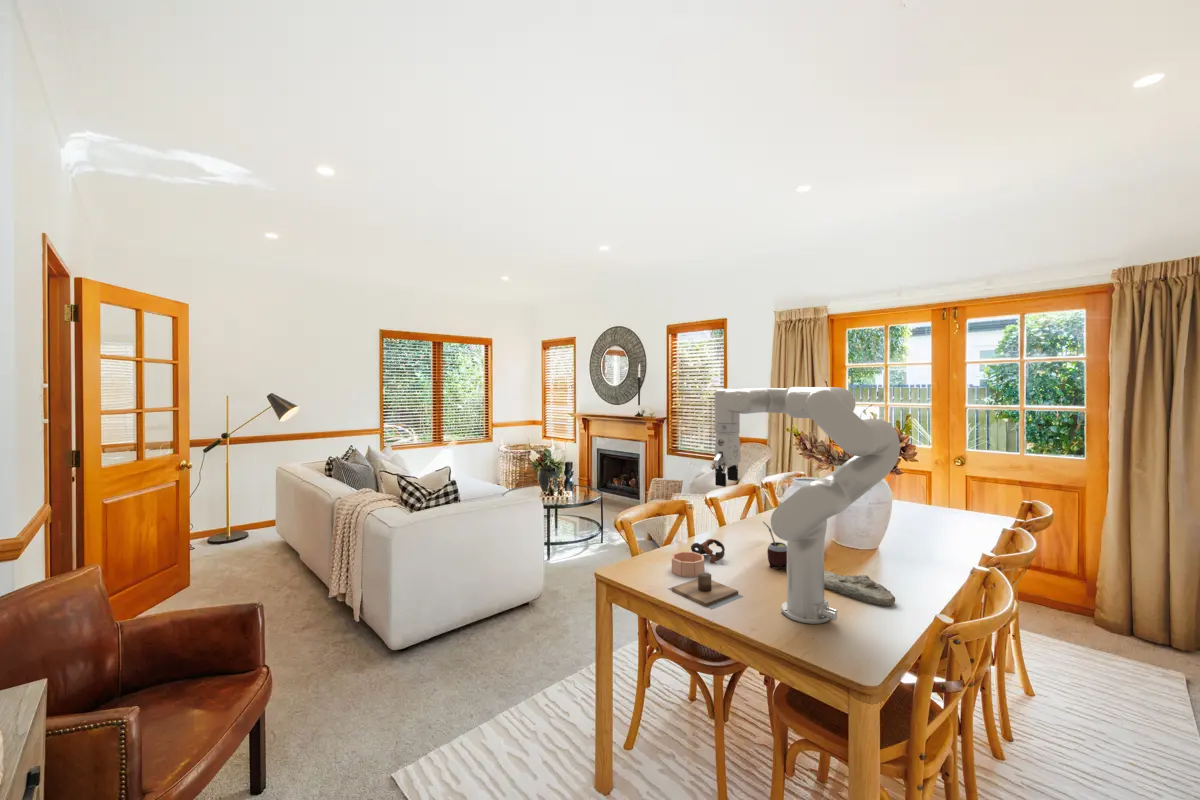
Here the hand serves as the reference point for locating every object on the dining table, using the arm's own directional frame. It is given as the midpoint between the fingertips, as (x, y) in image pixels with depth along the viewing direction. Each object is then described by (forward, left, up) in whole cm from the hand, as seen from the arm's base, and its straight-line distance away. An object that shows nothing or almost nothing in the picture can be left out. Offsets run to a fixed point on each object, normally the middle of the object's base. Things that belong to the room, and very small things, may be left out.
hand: (726, 483), depth 155 cm
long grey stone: (-20, -27, -34) cm, 47 cm away
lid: (+1, +9, -33) cm, 34 cm away
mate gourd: (+1, -27, -33) cm, 43 cm away
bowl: (+17, 0, -33) cm, 37 cm away
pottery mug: (+21, -14, -33) cm, 42 cm away
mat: (+1, +9, -33) cm, 34 cm away
